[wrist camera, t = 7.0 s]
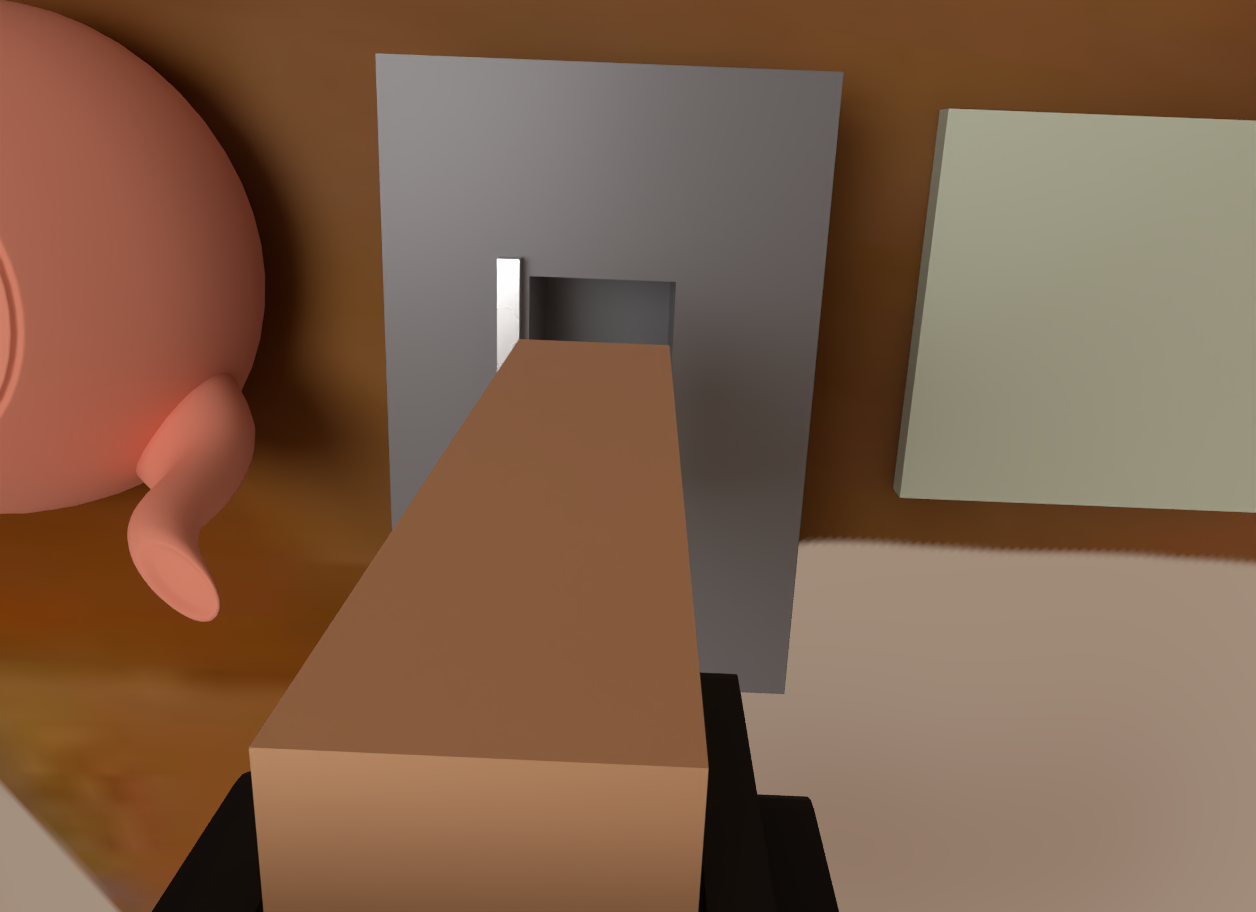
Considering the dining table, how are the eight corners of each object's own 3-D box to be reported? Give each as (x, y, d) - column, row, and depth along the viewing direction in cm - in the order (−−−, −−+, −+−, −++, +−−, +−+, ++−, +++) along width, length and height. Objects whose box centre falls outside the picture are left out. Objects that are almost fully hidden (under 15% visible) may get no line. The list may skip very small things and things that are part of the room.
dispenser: (802, 87, 32) (847, 70, 25) (759, 596, 37) (786, 704, 30) (431, 73, 32) (369, 50, 25) (441, 583, 38) (392, 687, 30)
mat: (1341, 125, 32) (1362, 124, 31) (1252, 503, 36) (1268, 513, 35) (939, 109, 32) (948, 108, 31) (892, 488, 36) (899, 497, 35)
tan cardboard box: (669, 345, 20) (709, 768, 6) (655, 617, 22) (664, 1386, 8) (518, 339, 20) (247, 747, 6) (517, 611, 22) (303, 1367, 8)
